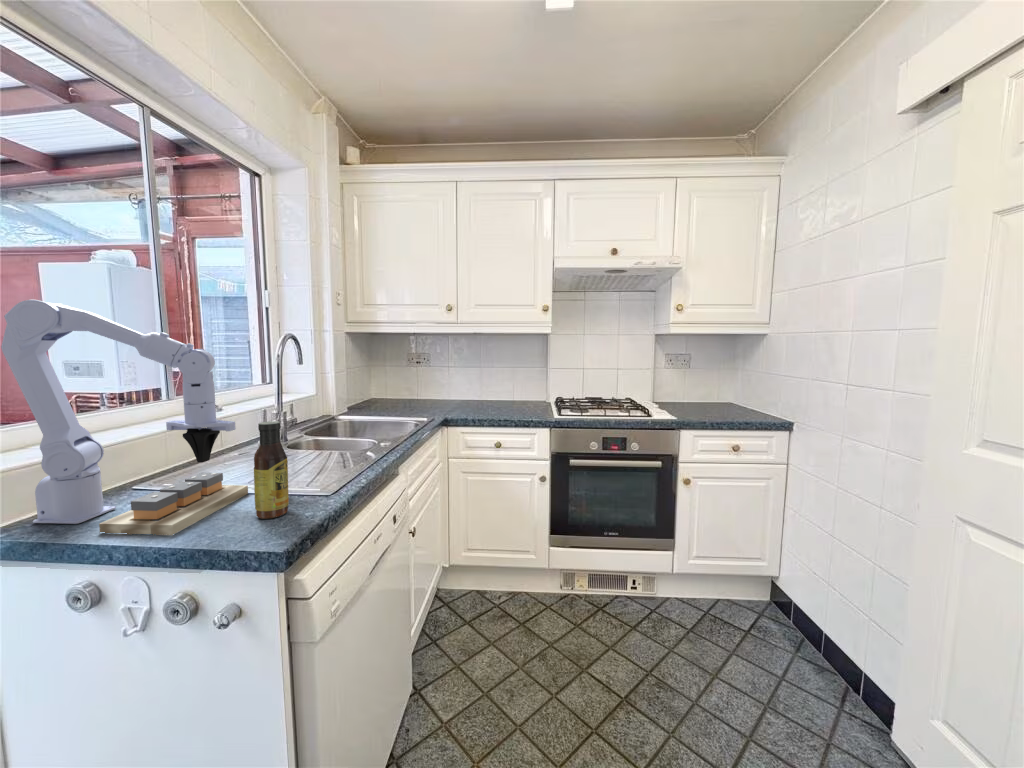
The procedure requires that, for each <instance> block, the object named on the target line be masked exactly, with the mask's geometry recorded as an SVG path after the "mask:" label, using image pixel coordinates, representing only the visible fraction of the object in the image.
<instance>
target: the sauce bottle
mask: <svg viewBox="0 0 1024 768" xmlns="http://www.w3.org/2000/svg"><path fill="white" fill-rule="evenodd" d="M258 431H259V440H258V442H260V446H259V448H258V447H257V449H256V451H255V452H254V456H253V463H254V464H253V466H254V467H253V487H254V509H255V515H256V517H257V519H261V520H266V519H267V520H270V519H275V518H279V517H282V516H283V515H286V514H287V512H288V511H289V505H290V502H289V501H290V500H289V499H290V498H289V497H290V496H289V469H288V468H289V467H288V466H289V465H288V456H287V454H286V451H285V449H284V447H283V445H282V443H281V422H280V421H274V420H272V421H264V422H263V421H262V422H259V423H258Z"/></svg>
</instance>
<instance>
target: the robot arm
mask: <svg viewBox="0 0 1024 768" xmlns="http://www.w3.org/2000/svg"><path fill="white" fill-rule="evenodd" d="M4 320H5V322H6V326H5V329H4V333H3V338H2V341H1V346H0V347H1V352H2V355H3V356H4V358H5V360H6V362H7V364H8V366H9V368H10V370H11V373H12V374H13V376H14V378H15V380H16V383H17V385H18V387H19V388H20V391H21V393H22V394H23V397H24V399H25V400H26V401H25V402H27V405H28V407H29V409H30V410H31V411H30V412H31V413H32V415H33V417H34V419H35V422H36V424H37V425H38V428H39V430H40V431H41V434H42V438H41V441H40V445H39V450H40V452H41V454H42V459H41V462H40V463H41V464H40V465H41V469H42V470H43V472H44V473H45V474H46V475H47V476H45V477H43V478H42V479H41V480H40V481H39V482H38V483H37V485H36V486H35V491H34V496H35V505H36V513H37V514H36V515H37V519H34V520H32V523H34V524H61V525H62V524H63V525H64V524H69V525H70V524H71V525H79V524H81V523H84V522H86V521H88V520H92V519H94V518H97V517H98V516H101V515H103V514H105V513H108V512H111V511H113V510H116V509H117V507H116V506H114V505H104V498H103V497H104V496H103V486H102V485H103V484H102V474H101V467H100V466H99V464H98V463H99V462H100V461H101V460H102V459H103V457H104V454H105V453H104V451H105V449H104V447H103V445H102V444H101V443H100V442H99V441H97V440H95V439H94V438H93V437H92V435H91V433H90V431H89V430H88V429H86V428H85V427H83V426H82V425H81V424H80V423H79V421H78V419H77V416H76V414H75V412H74V410H73V408H72V406H71V403H70V401H69V399H68V397H67V395H66V393H65V390H64V389H63V386H62V384H61V382H60V380H59V378H58V375H57V373H56V371H55V369H54V367H53V365H52V362H51V361H50V358H49V356H48V354H47V352H48V351H49V350H50V349H51V347H52V346H53V345H54V344H55V343H56V342H57V341H58V340H59V339H61V338H63V337H65V336H67V335H69V334H70V333H72V332H90V333H92V334H95V335H99V336H101V337H104V338H107V339H110V340H113V341H115V342H116V341H117V342H119V343H121V344H122V343H123V344H125V345H128V346H130V347H134V348H135V349H136V350H137V352H138V354H139V355H140V356H141V357H142V358H146V359H149V360H150V361H154V362H157V363H159V364H161V365H165V366H168V367H170V368H173V369H178V370H179V371H180V372H181V373H182V374H181V375H182V397H183V398H182V399H183V411H184V412H183V413H184V414H183V415H184V420H183V419H181V420H169V421H166V422H165V424H166V431H185V432H184V433H182V437H183V439H184V440H185V441H186V442H187V443H188V445H189V447H190V448H191V450H192V451H193V454H194V457H195V458H196V462H197V463H205V462H209V461H210V458H211V455H212V451H213V447H214V445H215V443H216V440H217V438H218V436H219V435H220V433H221V431H226V432H232V431H235V430H236V429H237V426H236V421H231V420H222V419H221V420H220V419H217V413H216V412H217V409H216V392H215V381H214V374H213V371H212V370H213V369H214V368H215V364H216V362H215V361H216V360H215V358H214V356H213V355H212V353H210V352H208V351H207V350H205V348H195V349H194V346H195V345H194V344H192V343H187V344H186V343H183V342H181V341H178V340H177V339H174V338H170V334H168V333H166V332H162V331H160V333H158V332H155V331H153V332H149V333H146V334H144V333H143V332H142V333H141V332H140V331H137V330H134V329H132V328H129V327H127V326H125V325H123V324H120V323H117V322H115V321H113V320H111V319H108V318H106V317H103V316H102V315H99V314H97V313H94V312H91V311H87V310H83V309H80V308H77V307H71V306H69V305H66V304H64V303H58V302H57V303H56V302H55V303H53V302H45V301H43V300H38V299H26V300H22V301H20V302H18V303H16V304H15V305H14V306H13V307H12V308H11V309H9V310H8V312H7V313H5V315H4Z"/></svg>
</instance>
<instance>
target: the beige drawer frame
mask: <svg viewBox="0 0 1024 768" xmlns="http://www.w3.org/2000/svg"><path fill="white" fill-rule="evenodd" d="M248 494H249V487H248V485H241V484H238V485H235V484H222V488H221V489H219V490H217V491H215V492H213V493H211V494H209V495H201V498H200V499H198V500H196V501H194V502H192V503H190V504H188V505H186V506H185V507H180V506H177V510H175V511H173V512H171V513H169V514H167V515H165V516H163V517H161V518H160V519H158V520H153V519H134V512H133V510H131V509H130V510H128V511H126V512H123V513H121V514H118V515H115V516H114V517H112V518H109V519H107V520H104V521H102V522H100V523H98V528H99V529H98V530H99V533H100V532H105V533H127V534H126V535H132V534H153V535H152V536H174V535H175V533H176V534H177V533H179V532H181V531H182V530H184V529H187V528H189V527H190V526H192V525H194V524H195V523H198V522H199V521H201V520H203V519H205V518H206V517H208V516H210V515H212V514H214V513H216V512H217V511H219V510H221V509H222V508H224V507H227V506H228V505H230V504H232V503H234V502H235V501H237V500H239V499H241V498H243V497H244V496H247V495H248ZM154 534H156V535H154ZM173 534H174V535H173Z"/></svg>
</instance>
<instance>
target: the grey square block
mask: <svg viewBox="0 0 1024 768" xmlns="http://www.w3.org/2000/svg"><path fill="white" fill-rule="evenodd" d="M177 501H178V495H177V493H174V492H160V491H153V492H151V493H147V494H145V495H143V496H140V497H137V498H136V499H135V498H134V499H133V500H131V501H130V510H133V512H134V519H152V520H160V519H162V518H161V517H163V516H165V515H167V514H169V513H171V512H173V511H175V510H177V508H178V507H177V506H176V502H177Z"/></svg>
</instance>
